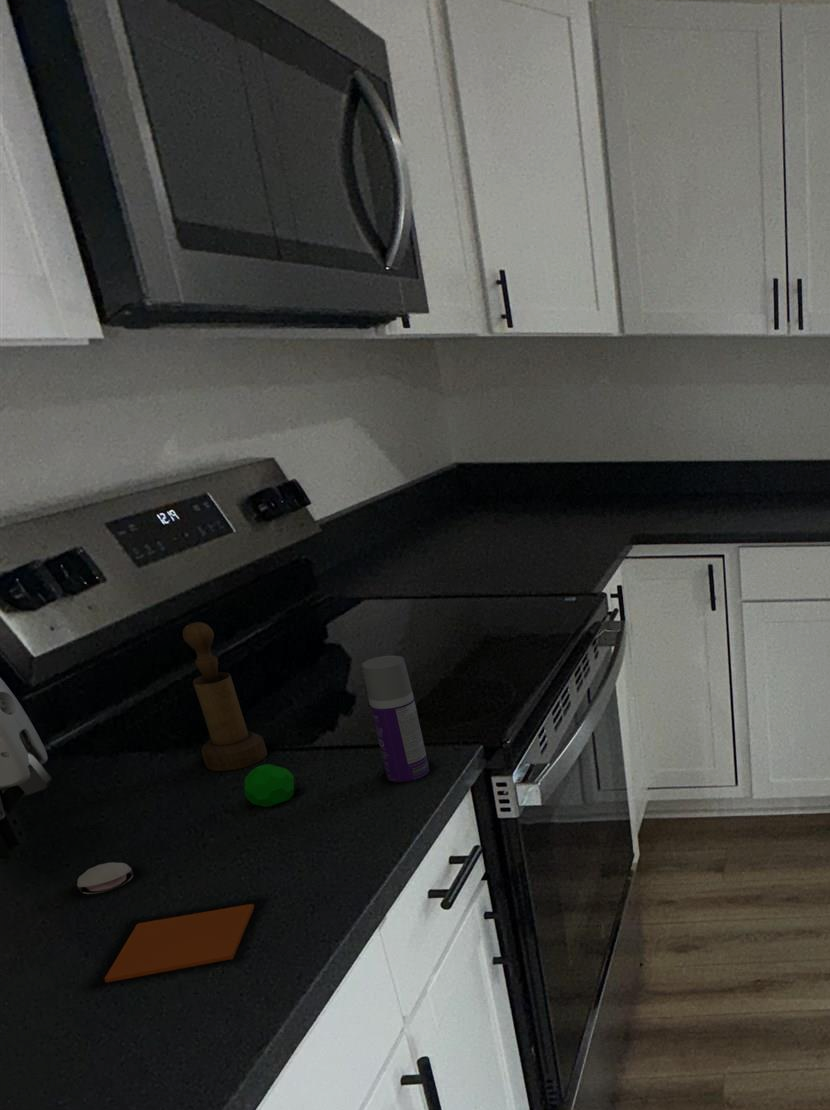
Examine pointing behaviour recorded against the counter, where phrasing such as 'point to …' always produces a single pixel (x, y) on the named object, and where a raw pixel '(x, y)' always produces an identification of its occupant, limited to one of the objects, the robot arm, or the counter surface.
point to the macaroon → (104, 877)
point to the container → (395, 718)
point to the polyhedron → (269, 785)
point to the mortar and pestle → (221, 709)
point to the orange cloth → (181, 942)
